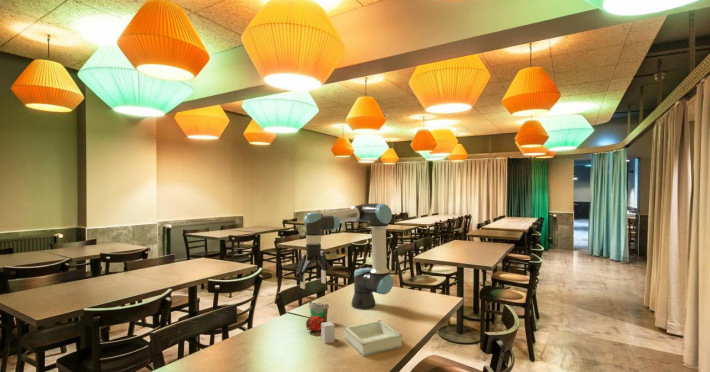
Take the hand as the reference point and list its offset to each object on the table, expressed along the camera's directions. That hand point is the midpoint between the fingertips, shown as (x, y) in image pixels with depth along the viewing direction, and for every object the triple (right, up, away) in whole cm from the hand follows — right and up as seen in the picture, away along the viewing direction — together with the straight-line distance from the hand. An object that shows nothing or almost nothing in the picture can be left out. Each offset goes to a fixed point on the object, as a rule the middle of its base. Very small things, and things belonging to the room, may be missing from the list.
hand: (313, 285), depth 173 cm
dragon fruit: (+1, -25, +5) cm, 26 cm away
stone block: (+8, -25, -7) cm, 27 cm away
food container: (0, -25, +17) cm, 30 cm away
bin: (+29, -24, -10) cm, 39 cm away
